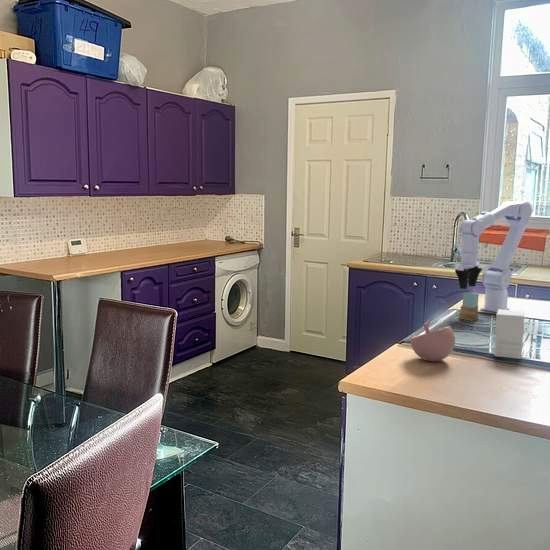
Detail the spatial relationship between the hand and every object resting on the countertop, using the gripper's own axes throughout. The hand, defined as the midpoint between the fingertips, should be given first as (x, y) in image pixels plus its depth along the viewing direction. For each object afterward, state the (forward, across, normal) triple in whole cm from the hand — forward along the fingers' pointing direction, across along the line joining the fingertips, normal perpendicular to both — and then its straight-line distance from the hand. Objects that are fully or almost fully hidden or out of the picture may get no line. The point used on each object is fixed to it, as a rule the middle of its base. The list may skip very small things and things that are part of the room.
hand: (467, 287), depth 214 cm
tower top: (+8, -7, -4) cm, 11 cm away
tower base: (+11, -7, -4) cm, 13 cm away
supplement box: (+11, -42, -32) cm, 54 cm away
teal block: (+6, -7, -5) cm, 10 cm away
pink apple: (+11, -63, -19) cm, 66 cm away
